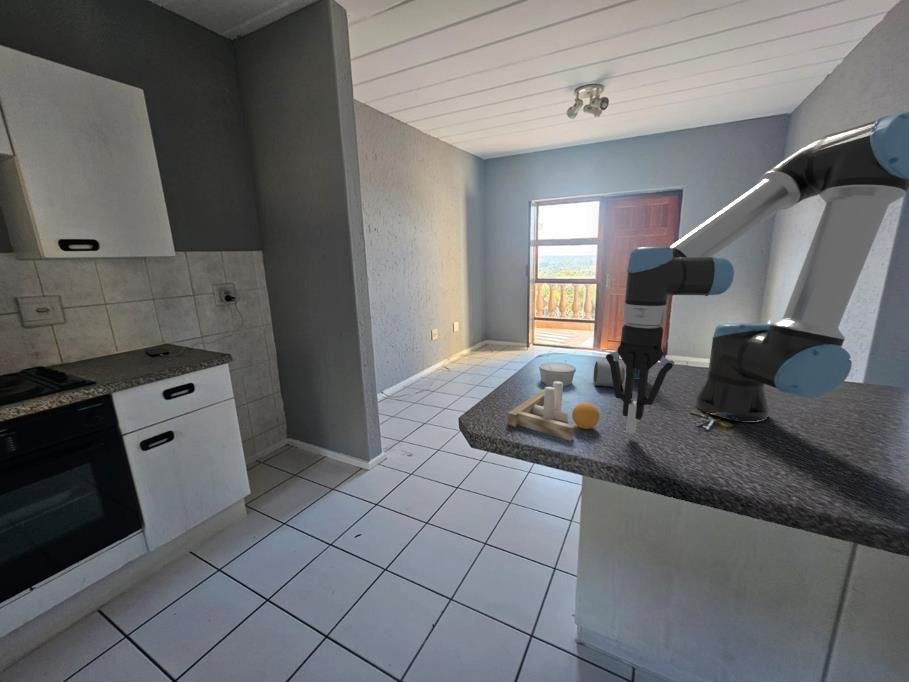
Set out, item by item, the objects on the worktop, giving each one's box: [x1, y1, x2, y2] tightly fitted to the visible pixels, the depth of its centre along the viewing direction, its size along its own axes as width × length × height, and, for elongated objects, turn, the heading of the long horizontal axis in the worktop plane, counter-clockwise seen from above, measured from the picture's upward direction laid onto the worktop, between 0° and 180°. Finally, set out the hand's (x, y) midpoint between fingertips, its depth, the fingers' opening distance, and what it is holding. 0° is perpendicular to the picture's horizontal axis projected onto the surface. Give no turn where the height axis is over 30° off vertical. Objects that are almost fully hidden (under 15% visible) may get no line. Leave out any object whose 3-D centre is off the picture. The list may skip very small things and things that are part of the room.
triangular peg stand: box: [507, 389, 575, 442], centre depth 91 cm, size 15×20×3 cm
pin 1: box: [542, 386, 555, 420], centre depth 88 cm, size 2×2×8 cm
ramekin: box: [538, 361, 577, 387], centre depth 118 cm, size 11×11×5 cm
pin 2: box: [552, 381, 564, 411], centre depth 92 cm, size 2×2×8 cm
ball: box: [571, 402, 600, 430], centre depth 85 cm, size 6×6×6 cm
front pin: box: [532, 405, 569, 423], centre depth 91 cm, size 2×2×8 cm
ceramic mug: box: [592, 360, 626, 388], centre depth 115 cm, size 11×8×8 cm
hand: (630, 430), depth 80 cm, fingers closed
